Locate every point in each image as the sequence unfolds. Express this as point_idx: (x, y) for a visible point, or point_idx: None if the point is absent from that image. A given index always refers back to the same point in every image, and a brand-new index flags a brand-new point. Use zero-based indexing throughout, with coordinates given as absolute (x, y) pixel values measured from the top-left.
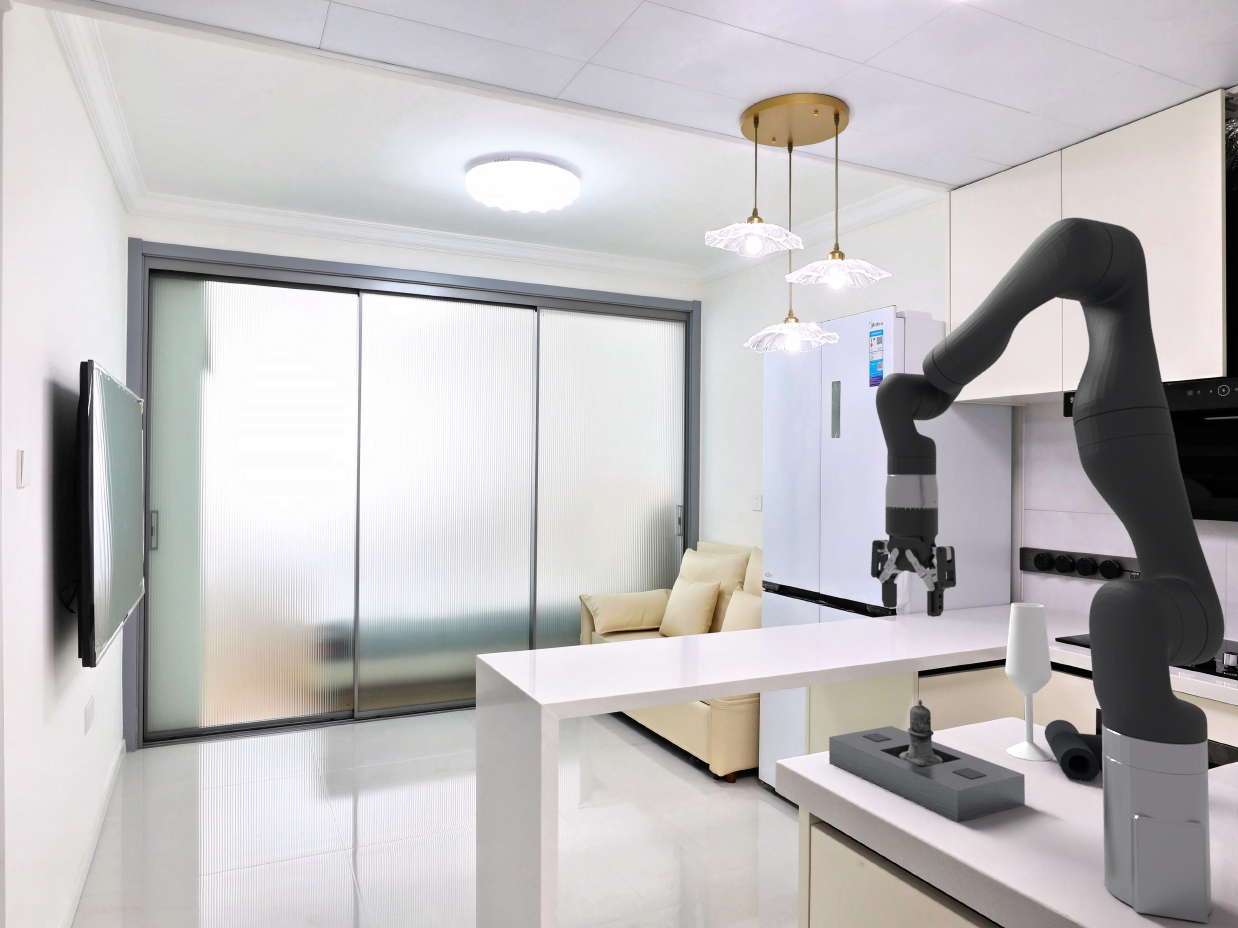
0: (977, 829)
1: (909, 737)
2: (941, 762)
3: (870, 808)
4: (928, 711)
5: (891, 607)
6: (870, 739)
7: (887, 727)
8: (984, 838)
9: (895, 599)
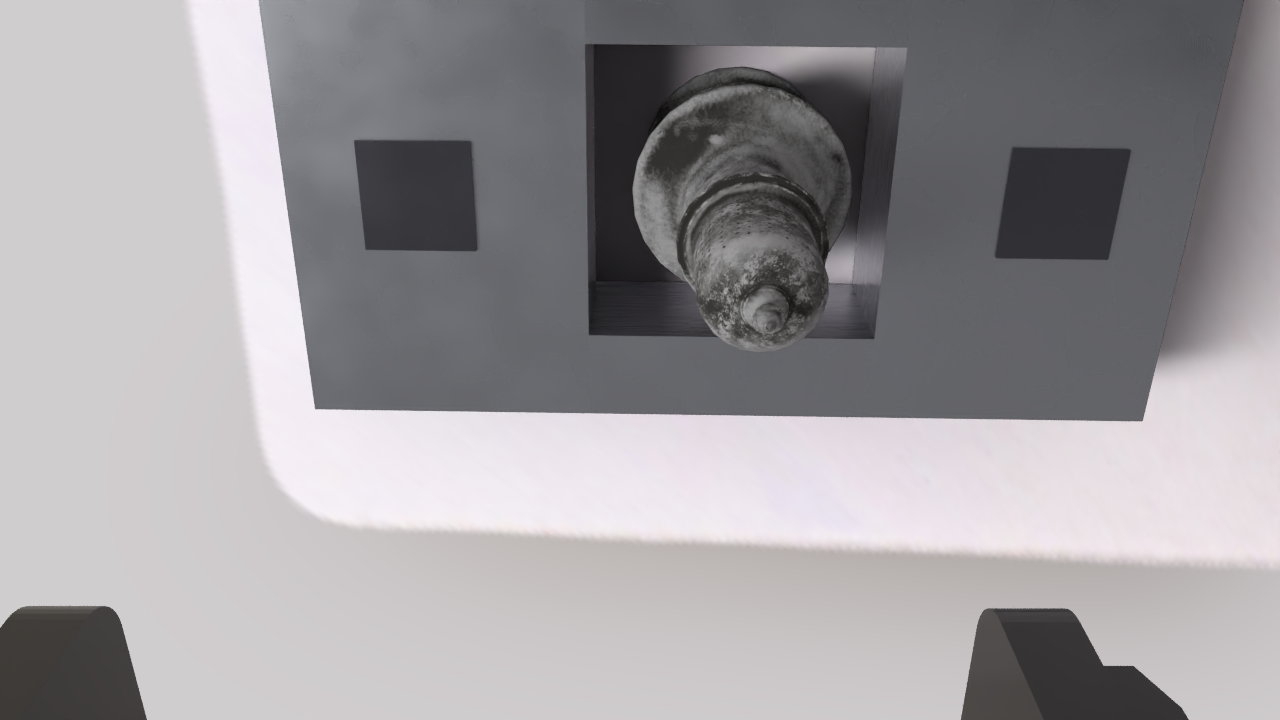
0: (1176, 345)
1: (489, 15)
2: (844, 151)
3: (822, 532)
4: (823, 284)
5: (134, 682)
6: (429, 250)
7: None
8: (1232, 384)
9: (54, 706)
